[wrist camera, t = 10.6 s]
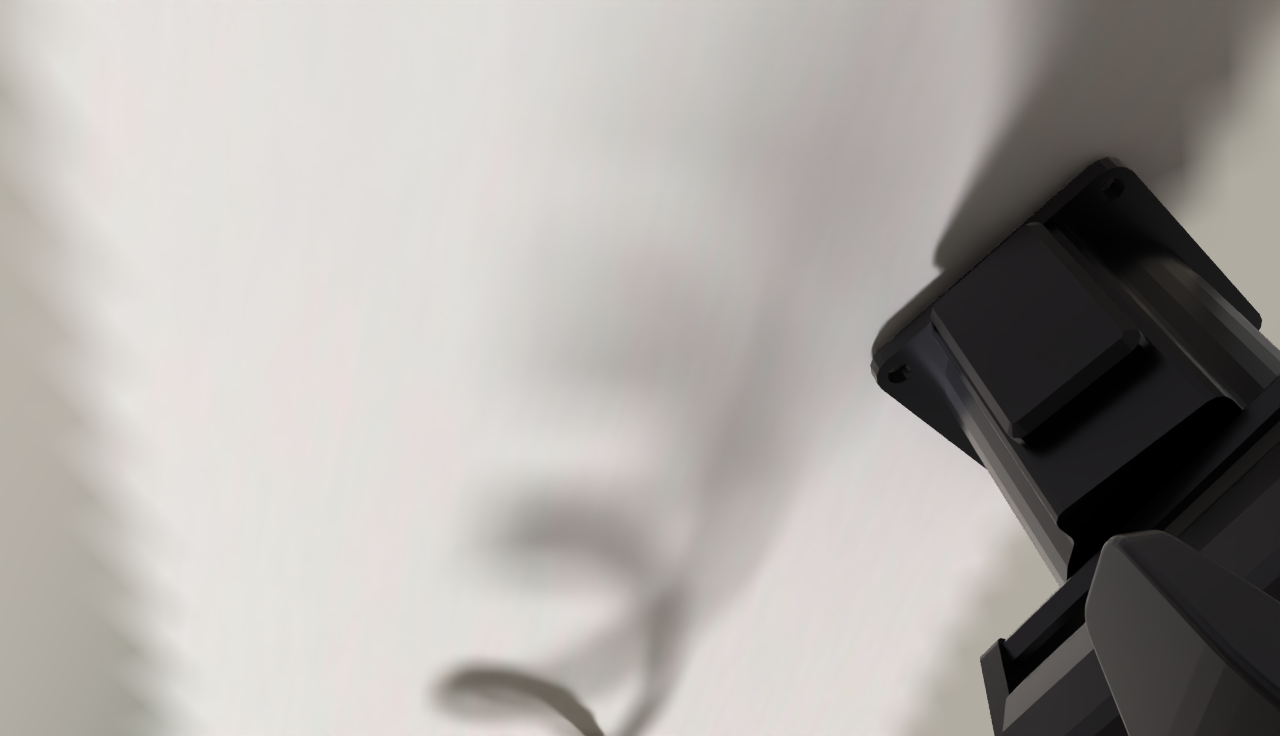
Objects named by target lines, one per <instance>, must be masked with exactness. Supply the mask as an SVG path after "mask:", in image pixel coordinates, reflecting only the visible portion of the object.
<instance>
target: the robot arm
mask: <svg viewBox="0 0 1280 736" xmlns="http://www.w3.org/2000/svg"><path fill="white" fill-rule="evenodd" d="M1113 178H1114V181H1113V183H1112V184H1111V186H1110V187H1109V188H1108V189H1106V190H1104V191H1102V192H1100V189H1101V187H1102V186H1103V185H1104V183H1105V182H1107V181H1108V180H1110V179H1113ZM1261 323H1262V319H1261V317H1260V314H1259V313H1258V312H1257V311H1256V310H1255V309H1254V307H1253V306H1252V305H1251V304H1250V303H1249V302H1248V301H1247V300H1246V298H1245V297H1244V296H1243V295H1242V294H1241V293H1240V292H1239V290H1237V288H1236V287H1235V286H1234V285H1233V284H1232V283H1231V281H1230V280H1229V279H1228V278H1227V277H1226V276H1225V275H1224V274H1223V272H1222V271H1221V270H1220V269H1219V268H1218V267H1217V266H1216V264H1215V263H1214V262H1213V261H1212V260H1211V259H1210V258H1209V257H1208V255H1207V254H1206V253H1205V252H1204V251H1203V250H1202V249H1201V248H1200V246H1199V245H1198V244H1197V243H1196V242H1195V241H1194V240H1193V238H1192V237H1191V236H1190V235H1189V234H1188V233H1187V232H1186V231H1185V229H1184V228H1183V227H1182V226H1181V225H1180V224H1179V223H1178V222H1177V220H1176V219H1175V218H1174V217H1173V216H1172V215H1171V214H1170V212H1169V211H1168V210H1167V209H1166V208H1165V207H1164V206H1163V205H1162V203H1161V202H1160V201H1159V200H1158V199H1157V198H1156V197H1155V196H1154V194H1153V193H1152V192H1151V191H1150V190H1149V189H1148V188H1147V187H1146V185H1145V184H1144V183H1143V182H1142V181H1141V180H1140V179H1139V177H1138V176H1137V175H1136V174H1135V173H1134V172H1133V171H1132V170H1131V169H1130V168H1129V167H1128V166H1126V165H1125V164H1124V163H1123V162H1121V161H1120V160H1118V159H1117V158H1108V157H1107V158H1104V159H1100V160H1097V161H1096V162H1094V163H1093V164H1091V165H1090V166H1088V167H1087V168H1086V169H1085V170H1084V171H1083V172H1082V173H1081V174H1079V175H1078V176H1077V177H1076V178H1075V179H1074V180H1073V181H1071V182H1070V183H1069V184H1068V185H1067V186H1066V187H1065V188H1064V189H1062V190H1061V191H1060V192H1059V193H1058V194H1057V195H1056V196H1054V197H1053V198H1052V199H1051V200H1050V201H1049V202H1048V203H1046V204H1045V205H1044V206H1043V207H1042V208H1041V209H1040V210H1039V211H1037V212H1036V213H1035V214H1034V215H1033V216H1032V217H1031V218H1029V219H1028V220H1027V221H1026V222H1025V223H1024V224H1023V225H1022V226H1020V227H1019V228H1018V229H1017V230H1016V231H1015V232H1014V233H1012V234H1011V235H1010V236H1009V237H1008V238H1007V239H1006V240H1004V241H1003V242H1002V243H1001V244H1000V245H999V246H998V247H997V248H995V249H994V250H993V251H992V252H991V253H990V254H989V255H987V256H986V257H985V258H984V259H983V260H982V261H981V262H979V263H978V264H977V265H976V266H975V267H974V268H973V269H972V270H970V271H969V272H968V273H967V274H966V275H965V276H964V277H962V278H961V279H960V280H959V281H958V282H957V283H956V284H955V285H953V286H952V287H951V288H950V289H949V290H948V291H947V292H945V293H944V294H943V295H942V296H941V297H940V298H939V299H937V300H936V301H935V302H934V303H933V304H932V305H931V306H930V307H928V308H927V309H926V310H925V311H924V312H923V313H922V314H920V315H919V316H918V317H917V318H916V319H915V320H914V321H913V322H911V323H910V324H909V325H908V326H907V327H906V328H905V329H903V330H902V331H901V332H900V333H899V334H898V335H897V336H895V337H894V338H893V339H892V340H891V341H890V342H889V343H888V344H886V345H885V346H884V347H883V348H882V349H881V350H880V351H878V353H877V354H876V355H875V356H874V358H873V360H872V363H871V365H870V366H871V373H872V374H873V376H874V378H875V380H876V382H877V384H878V385H879V386H880V387H881V389H882V390H884V391H885V392H886V393H888V394H889V395H890V396H892V397H893V398H894V399H895V400H897V401H898V402H899V403H901V404H902V405H903V406H905V407H906V408H907V409H909V410H910V411H911V412H912V413H914V414H915V415H916V416H918V417H919V418H920V419H922V420H923V421H924V422H926V423H927V424H928V425H929V426H931V427H932V428H933V429H935V430H936V431H937V432H939V433H940V434H941V435H943V436H944V437H945V438H946V439H948V440H949V441H950V442H952V443H953V444H954V445H956V446H957V447H958V448H960V449H961V450H962V451H963V452H965V453H966V454H967V455H969V456H970V457H971V458H973V459H974V460H975V461H977V462H978V463H979V464H980V465H982V466H983V467H984V468H986V469H987V470H988V472H989V473H990V475H991V476H992V478H993V480H994V481H995V483H996V485H997V486H998V488H999V489H1000V491H1001V493H1002V494H1003V496H1004V497H1005V499H1006V501H1007V502H1008V504H1009V506H1010V507H1011V509H1012V510H1013V512H1014V514H1015V515H1016V517H1017V518H1018V520H1019V522H1020V523H1021V525H1022V527H1023V528H1024V530H1025V531H1026V533H1027V535H1028V536H1029V538H1030V540H1031V541H1032V543H1033V544H1034V546H1035V548H1036V549H1037V551H1038V552H1039V554H1040V556H1041V557H1042V559H1043V561H1044V562H1045V564H1046V565H1047V567H1048V569H1049V570H1050V572H1051V573H1052V575H1053V577H1054V578H1055V580H1056V581H1057V583H1058V585H1059V586H1060V588H1059V589H1058V590H1056V591H1055V593H1054V594H1052V595H1051V596H1050V597H1049V598H1048V599H1047V600H1046V601H1045V602H1044V603H1043V604H1042V605H1041V606H1040V607H1039V608H1038V609H1037V610H1036V611H1035V612H1034V613H1033V614H1032V615H1031V616H1030V617H1029V618H1028V619H1027V620H1026V621H1024V622H1023V623H1022V624H1021V625H1020V626H1019V627H1018V628H1017V629H1016V630H1015V631H1014V632H1013V633H1012V634H1011V635H1010V636H1009V637H1008V638H1007V639H1002V638H1000V639H999V640H997V641H996V642H995V643H994V644H993V645H992V646H991V647H990V648H989V649H988V650H987V651H986V652H985V653H984V654H983V655H982V656H981V657H980V662H981V667H982V673H983V678H984V683H985V688H986V693H987V699H988V703H989V709H990V714H991V719H992V725H993V730H994V734H995V736H1280V350H1279V349H1278V348H1276V347H1275V346H1274V345H1273V344H1272V343H1271V342H1270V341H1269V340H1268V339H1267V338H1266V337H1265V336H1264V335H1263V334H1262V333H1261V332H1259V329H1260V328H1261ZM898 364H903V365H902V367H901V368H900V369H898V370H897V371H895V372H889V371H890V370H891V368H892V367H894V366H896V365H898Z"/></svg>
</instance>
